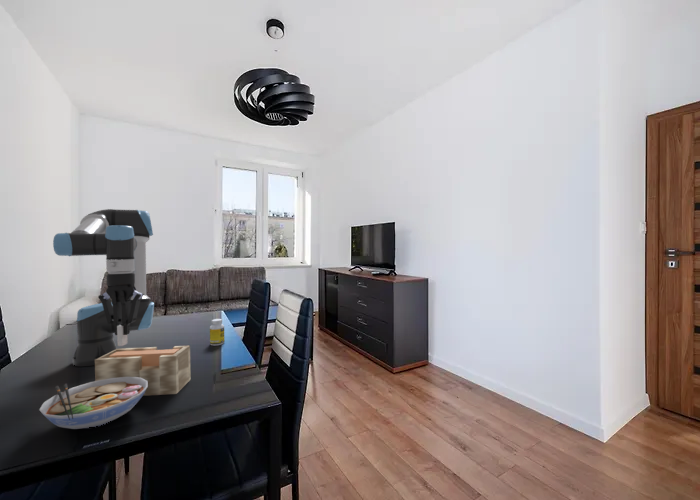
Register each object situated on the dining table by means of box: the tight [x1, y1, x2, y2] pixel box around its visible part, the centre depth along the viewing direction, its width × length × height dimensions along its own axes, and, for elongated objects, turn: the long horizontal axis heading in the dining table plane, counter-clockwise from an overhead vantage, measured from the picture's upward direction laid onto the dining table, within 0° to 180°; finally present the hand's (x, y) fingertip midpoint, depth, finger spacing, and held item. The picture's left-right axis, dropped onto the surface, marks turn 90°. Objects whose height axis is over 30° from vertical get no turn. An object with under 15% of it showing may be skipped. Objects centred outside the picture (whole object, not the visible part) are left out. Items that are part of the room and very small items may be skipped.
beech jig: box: [94, 345, 192, 397], centre depth 105 cm, size 24×11×12 cm, turn 95°
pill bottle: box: [209, 318, 226, 346], centre depth 154 cm, size 6×6×12 cm
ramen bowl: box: [38, 377, 148, 430], centre depth 86 cm, size 25×23×8 cm
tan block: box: [109, 348, 180, 367], centre depth 105 cm, size 20×4×4 cm, turn 95°
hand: (122, 344), depth 105 cm, fingers closed
